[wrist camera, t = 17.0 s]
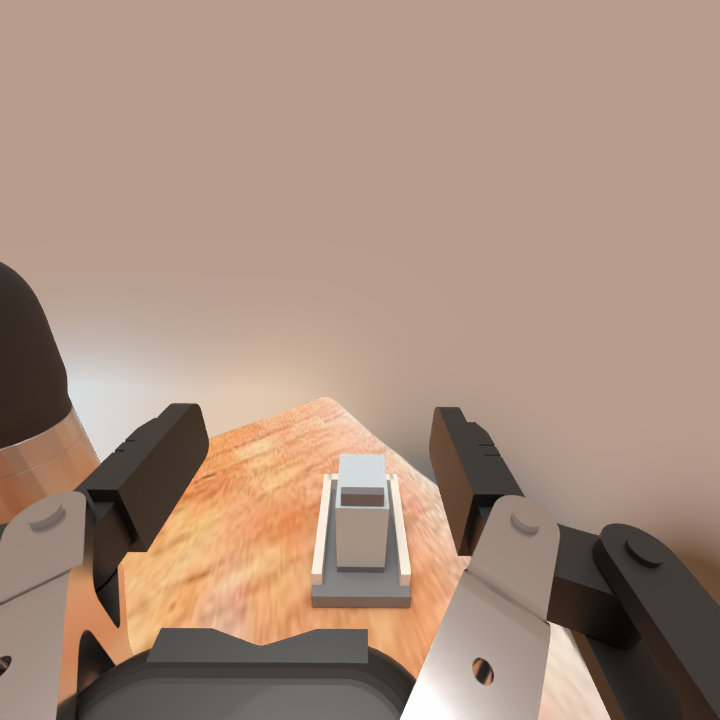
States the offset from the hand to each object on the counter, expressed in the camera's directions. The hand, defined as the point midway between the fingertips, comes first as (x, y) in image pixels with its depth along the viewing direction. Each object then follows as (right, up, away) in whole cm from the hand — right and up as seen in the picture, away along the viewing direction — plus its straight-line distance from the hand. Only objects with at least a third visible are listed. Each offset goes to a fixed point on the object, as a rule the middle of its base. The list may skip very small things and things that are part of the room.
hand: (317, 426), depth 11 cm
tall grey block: (+2, -19, +25) cm, 32 cm away
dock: (+2, -20, +27) cm, 34 cm away
